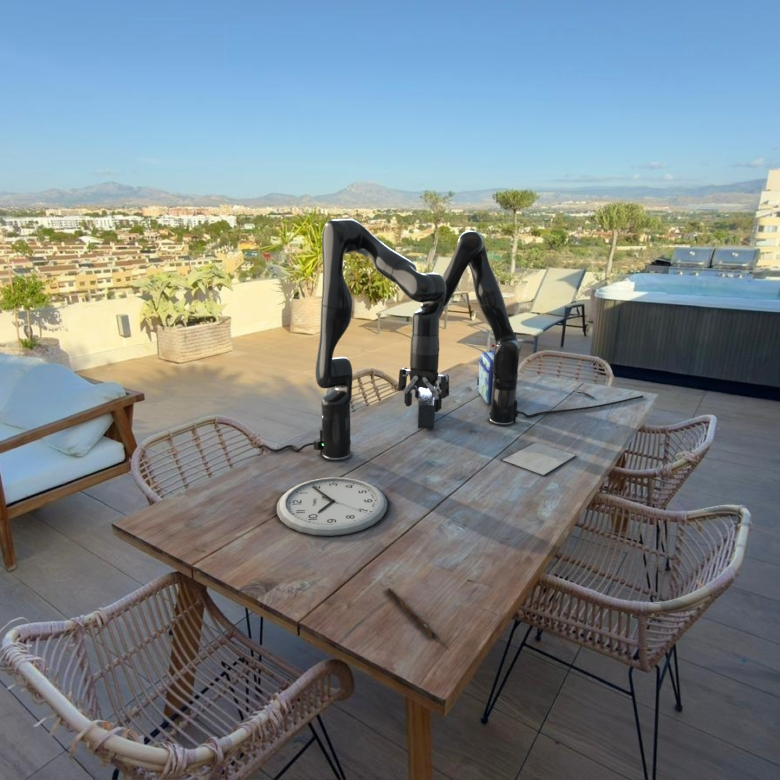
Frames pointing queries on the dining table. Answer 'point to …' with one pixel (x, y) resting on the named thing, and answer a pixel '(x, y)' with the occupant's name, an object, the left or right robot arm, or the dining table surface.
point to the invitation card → (539, 458)
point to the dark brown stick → (411, 612)
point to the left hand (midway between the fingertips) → (422, 408)
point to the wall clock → (331, 506)
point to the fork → (581, 391)
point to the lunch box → (486, 375)
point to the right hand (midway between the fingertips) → (425, 398)
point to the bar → (425, 409)
